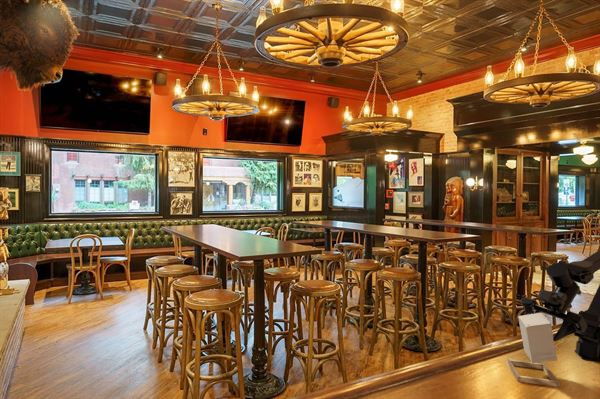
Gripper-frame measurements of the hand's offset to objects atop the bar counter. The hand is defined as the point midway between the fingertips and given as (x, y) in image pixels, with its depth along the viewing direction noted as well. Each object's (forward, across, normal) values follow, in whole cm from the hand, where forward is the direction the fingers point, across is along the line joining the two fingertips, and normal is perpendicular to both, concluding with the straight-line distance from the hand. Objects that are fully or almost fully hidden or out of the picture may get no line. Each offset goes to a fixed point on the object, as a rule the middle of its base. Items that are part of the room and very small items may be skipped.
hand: (538, 334), depth 129 cm
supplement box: (+4, 0, +6) cm, 7 cm away
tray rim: (+10, 0, +8) cm, 13 cm away
